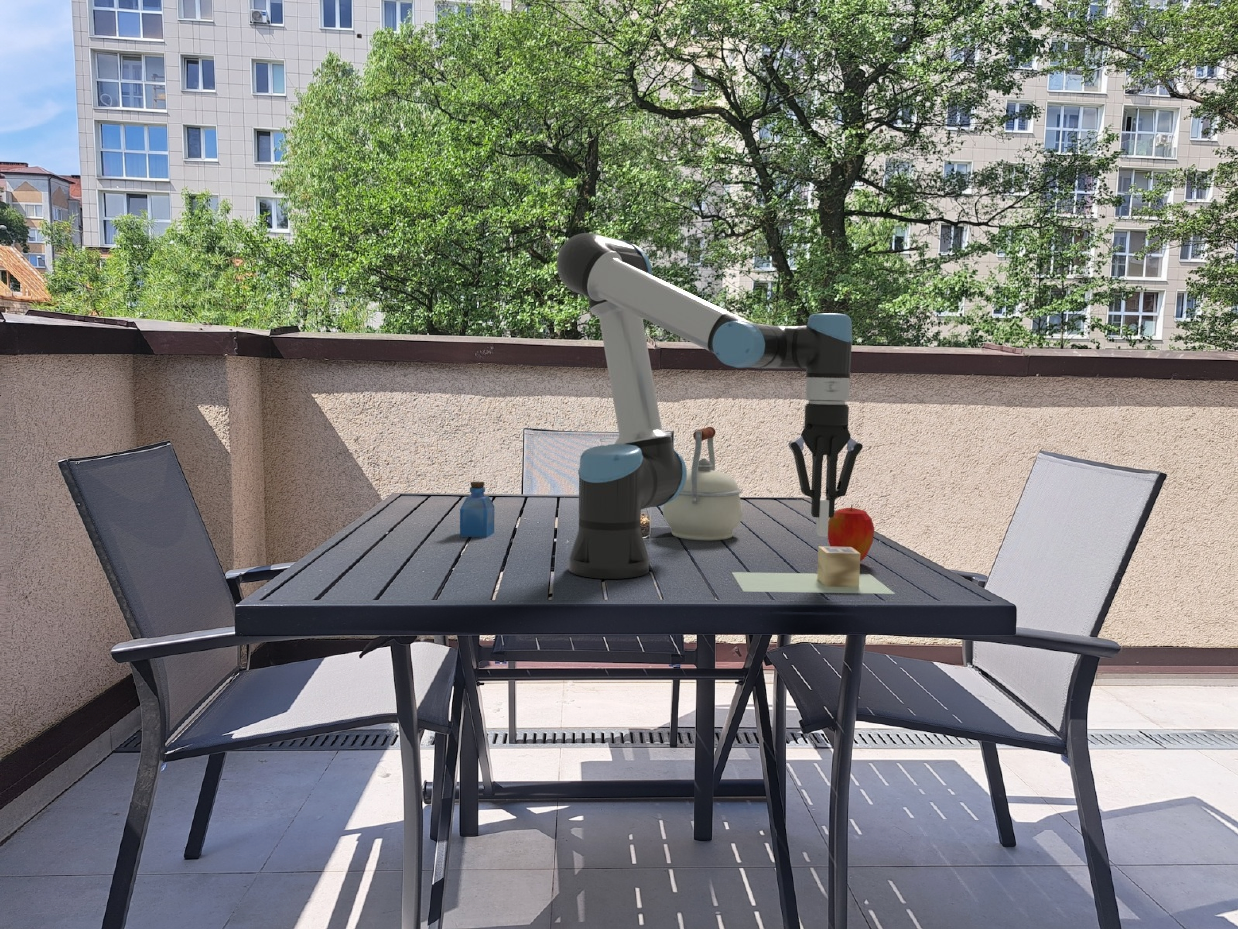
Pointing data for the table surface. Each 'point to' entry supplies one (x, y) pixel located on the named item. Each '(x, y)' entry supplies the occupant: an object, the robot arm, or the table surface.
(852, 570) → the wooden block
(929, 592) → the table surface
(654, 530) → the table surface
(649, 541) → the table surface
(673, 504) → the kettle
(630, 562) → the robot arm
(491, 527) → the blue corked bottle
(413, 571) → the table surface
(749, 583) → the felt mat
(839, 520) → the apple
